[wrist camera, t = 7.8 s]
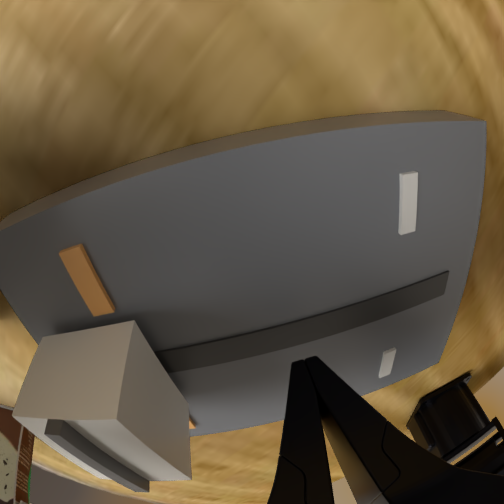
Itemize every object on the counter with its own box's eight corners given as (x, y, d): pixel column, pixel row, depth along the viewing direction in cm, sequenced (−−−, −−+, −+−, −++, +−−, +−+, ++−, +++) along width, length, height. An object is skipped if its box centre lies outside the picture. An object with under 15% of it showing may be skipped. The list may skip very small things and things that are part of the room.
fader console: (443, 110, 9) (490, 122, 7) (418, 334, 16) (440, 364, 14) (9, 213, 9) (-28, 246, 6) (134, 406, 15) (131, 443, 13)
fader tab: (134, 320, 8) (114, 437, 5) (188, 404, 11) (192, 491, 8) (42, 336, 8) (7, 429, 5) (108, 411, 11) (99, 488, 7)
